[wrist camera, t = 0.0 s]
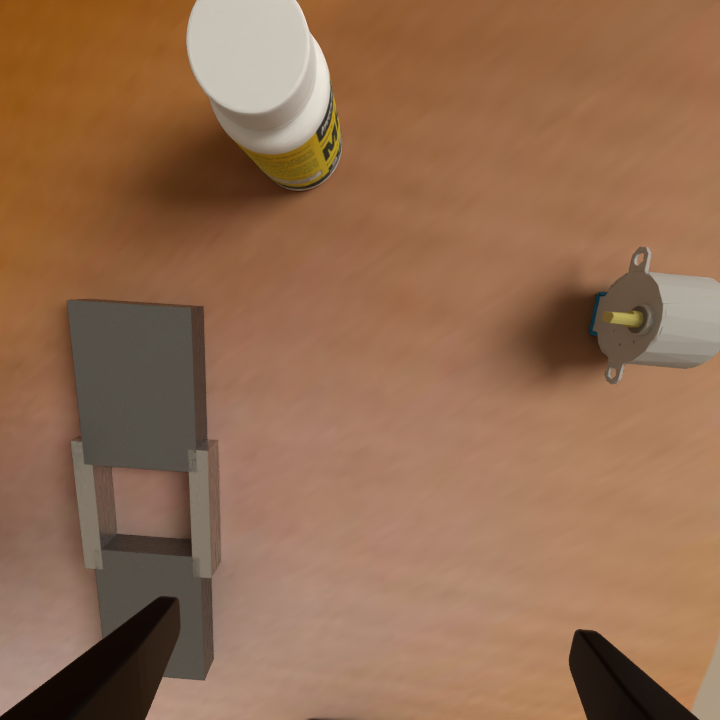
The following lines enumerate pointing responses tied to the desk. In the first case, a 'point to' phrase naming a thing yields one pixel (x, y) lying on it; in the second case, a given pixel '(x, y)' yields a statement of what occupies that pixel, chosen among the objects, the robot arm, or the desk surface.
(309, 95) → the supplement bottle
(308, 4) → the desk surface
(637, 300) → the electric motor
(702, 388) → the desk surface
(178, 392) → the grey slotted plate
